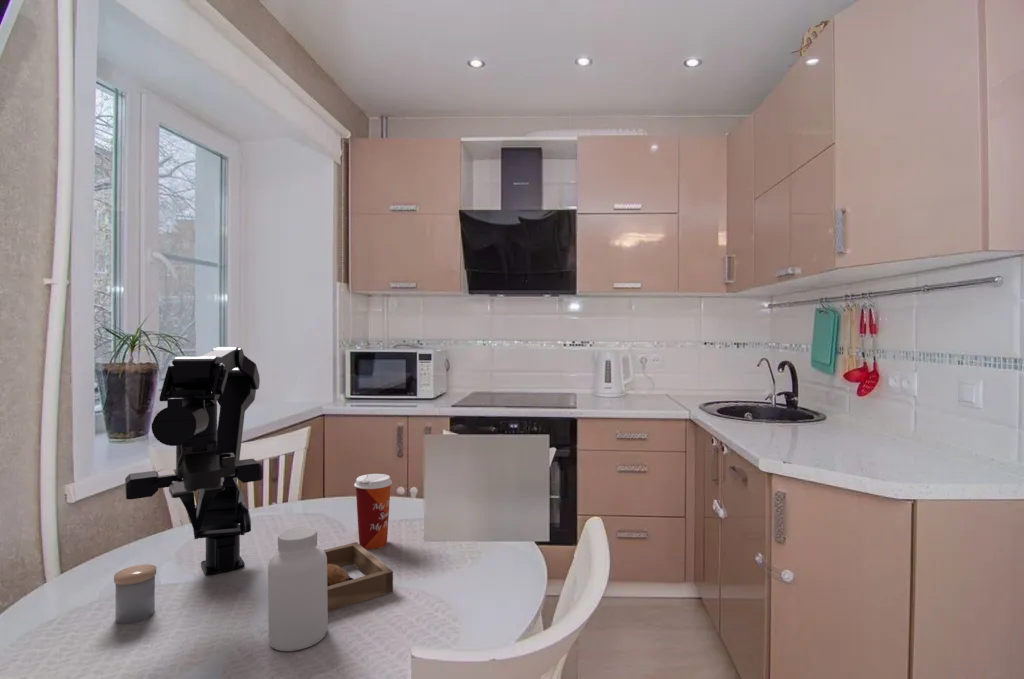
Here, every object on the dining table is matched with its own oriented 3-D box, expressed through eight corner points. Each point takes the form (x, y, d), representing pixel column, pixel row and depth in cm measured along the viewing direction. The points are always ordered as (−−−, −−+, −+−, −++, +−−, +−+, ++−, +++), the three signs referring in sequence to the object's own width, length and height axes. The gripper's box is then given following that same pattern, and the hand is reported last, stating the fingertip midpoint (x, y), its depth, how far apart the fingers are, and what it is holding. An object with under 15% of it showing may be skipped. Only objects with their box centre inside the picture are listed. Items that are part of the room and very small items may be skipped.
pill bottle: (279, 623, 80) (279, 524, 80) (333, 621, 81) (333, 523, 81) (258, 654, 72) (258, 544, 72) (319, 652, 73) (319, 542, 73)
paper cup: (382, 552, 107) (382, 483, 107) (347, 549, 109) (347, 481, 109) (398, 538, 115) (398, 473, 115) (365, 536, 116) (365, 471, 116)
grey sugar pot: (113, 613, 83) (113, 570, 83) (155, 603, 87) (155, 561, 87) (114, 628, 79) (114, 582, 79) (157, 617, 82) (157, 573, 82)
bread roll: (291, 586, 94) (291, 565, 94) (337, 572, 100) (337, 552, 100) (316, 608, 86) (315, 585, 86) (364, 591, 92) (364, 570, 92)
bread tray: (273, 581, 94) (273, 561, 94) (356, 560, 104) (356, 542, 104) (301, 620, 81) (301, 597, 81) (392, 591, 91) (392, 571, 91)
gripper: (127, 449, 74) (127, 561, 74) (271, 434, 85) (271, 532, 85) (125, 437, 83) (124, 538, 83) (255, 426, 94) (255, 514, 94)
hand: (196, 530), depth 86 cm, fingers closed
